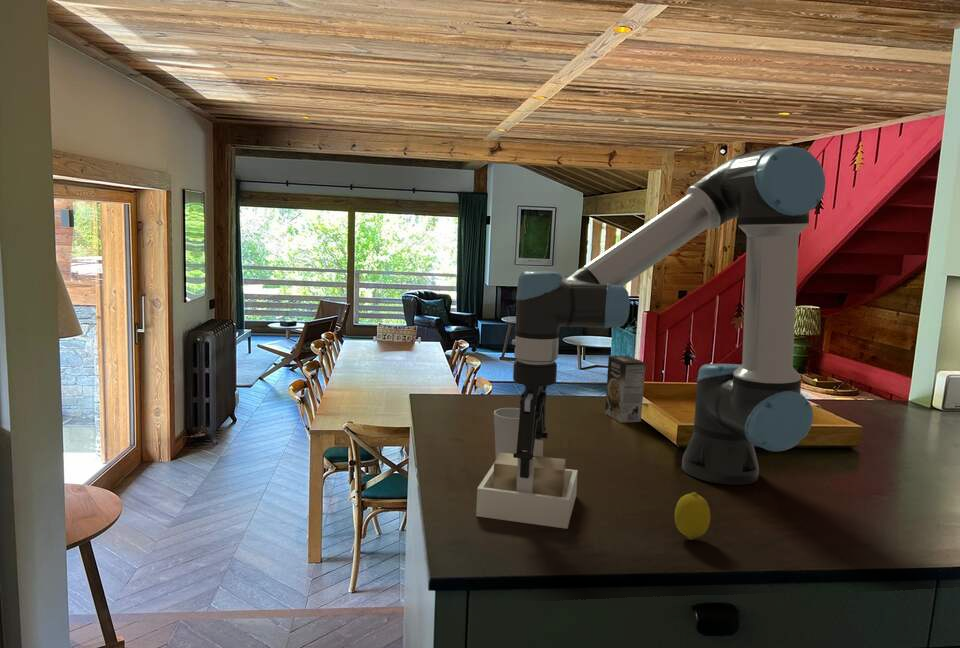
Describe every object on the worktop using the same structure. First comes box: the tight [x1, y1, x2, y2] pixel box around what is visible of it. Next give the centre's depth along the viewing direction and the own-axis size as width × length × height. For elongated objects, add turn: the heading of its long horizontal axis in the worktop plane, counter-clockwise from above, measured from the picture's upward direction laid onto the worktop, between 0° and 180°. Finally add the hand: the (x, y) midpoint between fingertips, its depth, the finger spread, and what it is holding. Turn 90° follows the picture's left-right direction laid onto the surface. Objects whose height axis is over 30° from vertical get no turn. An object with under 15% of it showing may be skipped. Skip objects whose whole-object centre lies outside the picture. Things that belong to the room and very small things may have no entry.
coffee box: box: [604, 355, 647, 423], centre depth 180 cm, size 9×6×16 cm
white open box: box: [475, 463, 579, 530], centre depth 121 cm, size 16×15×5 cm
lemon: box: [674, 491, 711, 541], centre depth 109 cm, size 6×6×8 cm
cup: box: [493, 407, 527, 460], centre depth 138 cm, size 8×8×12 cm
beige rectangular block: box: [493, 453, 567, 497], centre depth 120 cm, size 12×6×5 cm, turn 79°
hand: (529, 483), depth 120 cm, fingers open, 10 cm apart
